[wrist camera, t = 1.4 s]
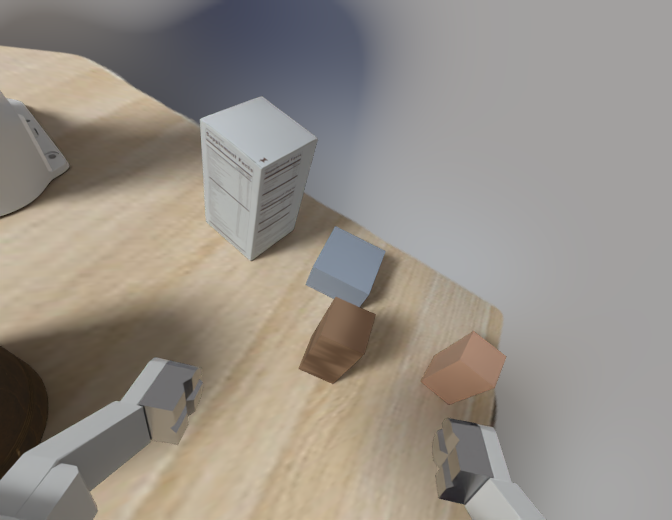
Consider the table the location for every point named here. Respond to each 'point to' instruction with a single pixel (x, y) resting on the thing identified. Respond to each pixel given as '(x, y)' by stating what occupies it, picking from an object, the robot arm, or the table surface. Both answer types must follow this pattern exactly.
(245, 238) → the supplement box
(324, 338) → the walnut post
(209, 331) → the table surface
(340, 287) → the slate block
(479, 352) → the terracotta post
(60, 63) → the table surface
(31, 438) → the wooden container
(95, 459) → the robot arm
